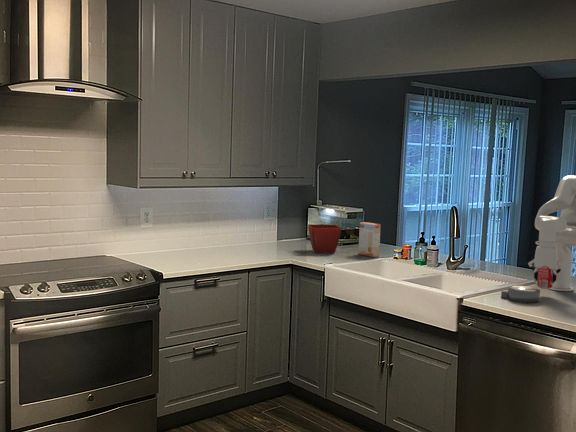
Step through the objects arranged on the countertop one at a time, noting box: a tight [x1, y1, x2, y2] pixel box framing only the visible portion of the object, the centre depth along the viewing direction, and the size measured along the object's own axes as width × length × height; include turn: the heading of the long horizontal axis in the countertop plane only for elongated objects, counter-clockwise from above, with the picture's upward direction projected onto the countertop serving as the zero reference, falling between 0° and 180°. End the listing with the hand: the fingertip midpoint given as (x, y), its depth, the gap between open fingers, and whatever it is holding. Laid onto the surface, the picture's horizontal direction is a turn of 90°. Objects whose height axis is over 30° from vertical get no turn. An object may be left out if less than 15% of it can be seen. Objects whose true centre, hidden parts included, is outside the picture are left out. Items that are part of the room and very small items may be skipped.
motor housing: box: [500, 285, 541, 305], centre depth 294 cm, size 14×16×6 cm
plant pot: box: [307, 224, 342, 254], centre depth 416 cm, size 19×19×17 cm
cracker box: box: [357, 221, 381, 258], centre depth 405 cm, size 14×6×21 cm, turn 34°
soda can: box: [536, 264, 554, 290], centre depth 303 cm, size 7×7×12 cm
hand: (545, 280), depth 303 cm, fingers closed on soda can, 7 cm apart
